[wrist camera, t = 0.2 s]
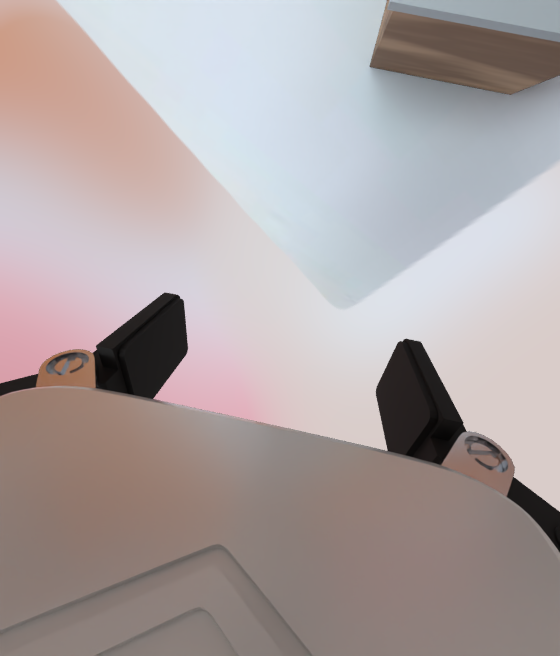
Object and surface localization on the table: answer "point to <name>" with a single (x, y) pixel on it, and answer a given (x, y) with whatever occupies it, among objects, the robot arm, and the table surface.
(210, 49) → the table surface
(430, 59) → the crate
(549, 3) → the lid
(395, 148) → the table surface
